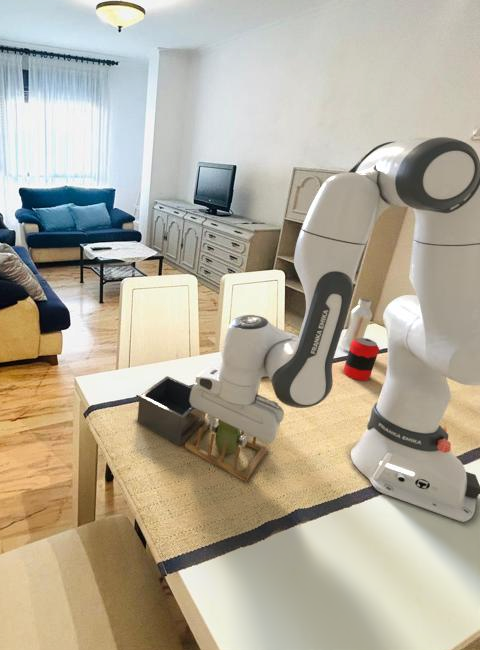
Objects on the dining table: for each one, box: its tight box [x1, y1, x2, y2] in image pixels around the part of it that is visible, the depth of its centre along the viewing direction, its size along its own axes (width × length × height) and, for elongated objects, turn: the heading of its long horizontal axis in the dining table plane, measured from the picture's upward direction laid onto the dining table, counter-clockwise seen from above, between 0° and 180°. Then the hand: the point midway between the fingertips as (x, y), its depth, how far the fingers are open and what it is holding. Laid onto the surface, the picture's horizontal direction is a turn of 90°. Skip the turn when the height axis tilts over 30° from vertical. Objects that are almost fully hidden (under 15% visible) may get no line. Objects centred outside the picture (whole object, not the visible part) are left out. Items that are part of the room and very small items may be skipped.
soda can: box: [342, 337, 380, 381], centre depth 123 cm, size 8×8×12 cm
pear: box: [214, 420, 241, 454], centre depth 88 cm, size 6×5×10 cm
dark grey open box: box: [136, 375, 207, 447], centre depth 97 cm, size 13×13×8 cm
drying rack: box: [184, 419, 268, 482], centre depth 89 cm, size 15×12×7 cm
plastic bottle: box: [340, 297, 373, 352], centre depth 138 cm, size 6×7×20 cm
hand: (227, 437), depth 89 cm, fingers closed on pear, 5 cm apart
